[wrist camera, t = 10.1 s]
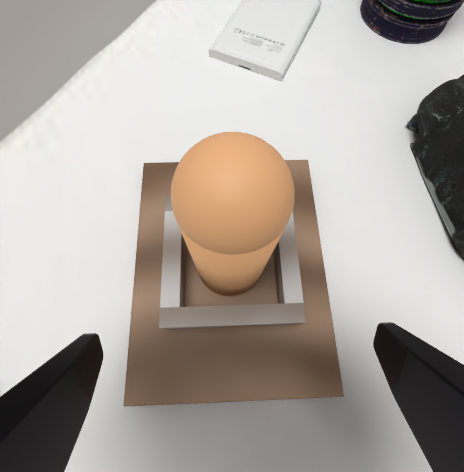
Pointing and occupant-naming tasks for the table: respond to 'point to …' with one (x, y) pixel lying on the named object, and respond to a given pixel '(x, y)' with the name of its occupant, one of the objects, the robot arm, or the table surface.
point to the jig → (228, 313)
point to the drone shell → (443, 153)
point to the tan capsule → (232, 208)
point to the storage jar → (408, 18)
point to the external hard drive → (265, 35)
